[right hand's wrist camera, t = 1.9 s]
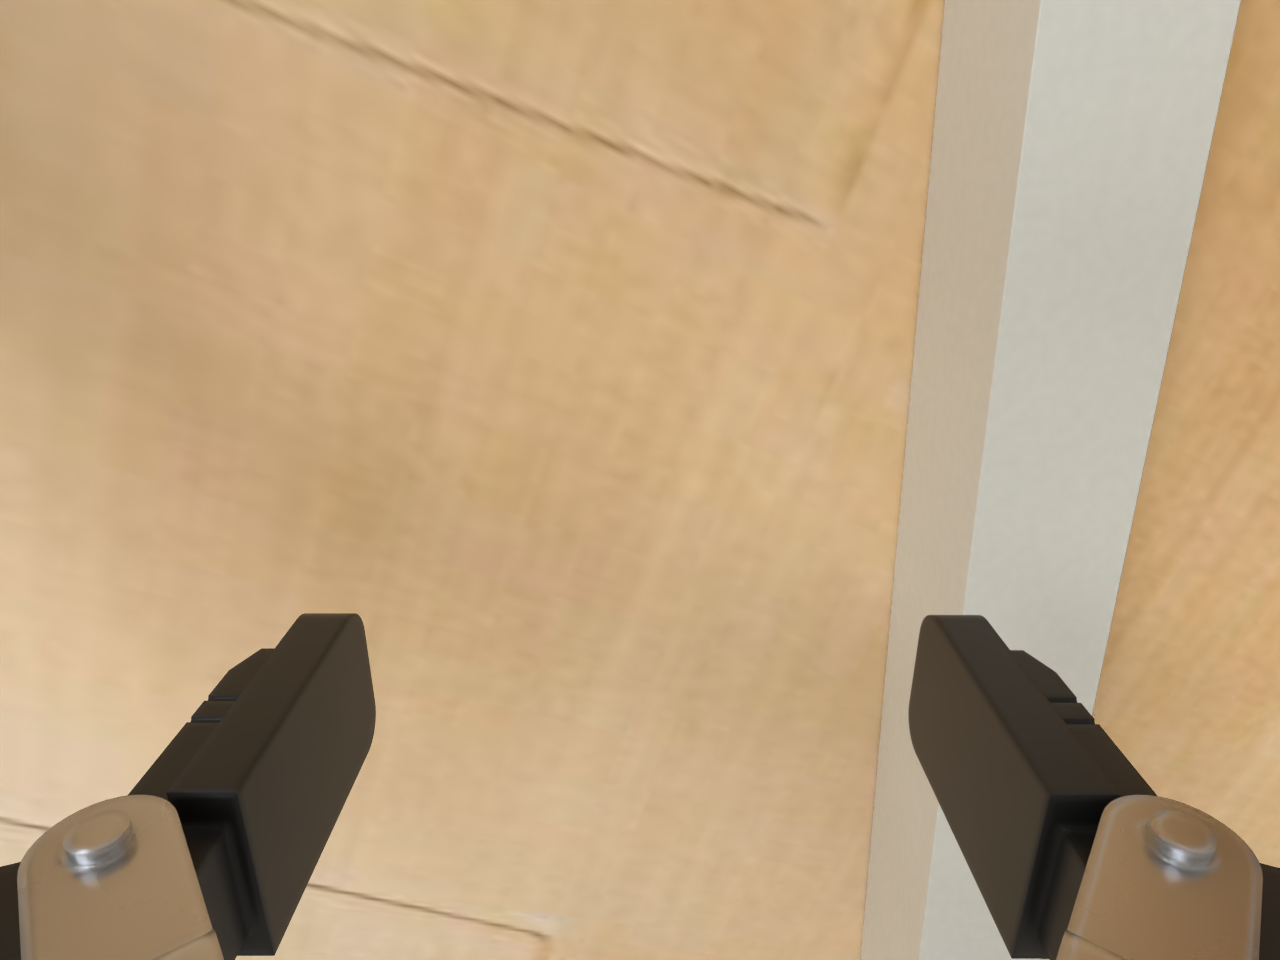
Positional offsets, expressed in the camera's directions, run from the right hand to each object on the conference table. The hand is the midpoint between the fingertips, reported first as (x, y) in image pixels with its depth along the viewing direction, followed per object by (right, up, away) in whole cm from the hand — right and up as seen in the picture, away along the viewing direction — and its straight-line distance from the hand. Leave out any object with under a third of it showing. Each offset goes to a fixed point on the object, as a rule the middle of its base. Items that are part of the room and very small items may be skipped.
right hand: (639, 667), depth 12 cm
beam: (+13, -7, +23) cm, 27 cm away
